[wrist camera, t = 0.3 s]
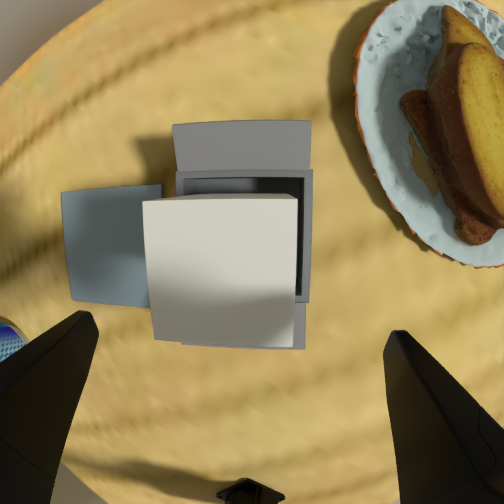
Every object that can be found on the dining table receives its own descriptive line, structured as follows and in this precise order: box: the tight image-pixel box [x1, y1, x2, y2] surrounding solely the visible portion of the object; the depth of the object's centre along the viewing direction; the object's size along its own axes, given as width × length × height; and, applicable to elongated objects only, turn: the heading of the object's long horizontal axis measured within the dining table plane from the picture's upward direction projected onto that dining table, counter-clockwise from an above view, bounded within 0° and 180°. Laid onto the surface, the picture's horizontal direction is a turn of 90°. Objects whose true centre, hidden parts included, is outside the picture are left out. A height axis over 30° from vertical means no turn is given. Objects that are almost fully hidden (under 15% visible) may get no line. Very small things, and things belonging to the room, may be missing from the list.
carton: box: [172, 120, 313, 349], centre depth 20 cm, size 14×8×5 cm, turn 0°
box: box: [142, 192, 298, 347], centre depth 17 cm, size 5×5×12 cm
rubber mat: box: [61, 184, 163, 308], centre depth 24 cm, size 10×10×1 cm
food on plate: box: [353, 0, 504, 269], centre depth 16 cm, size 25×25×7 cm
